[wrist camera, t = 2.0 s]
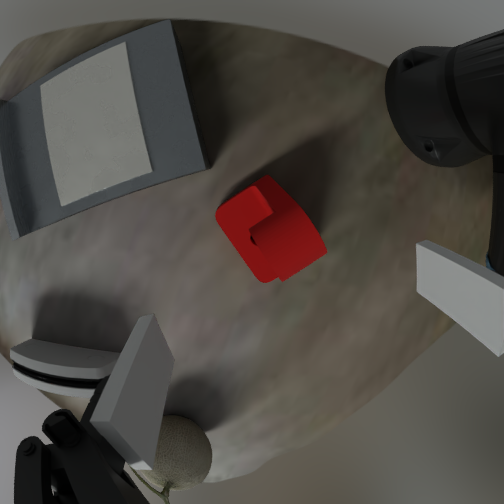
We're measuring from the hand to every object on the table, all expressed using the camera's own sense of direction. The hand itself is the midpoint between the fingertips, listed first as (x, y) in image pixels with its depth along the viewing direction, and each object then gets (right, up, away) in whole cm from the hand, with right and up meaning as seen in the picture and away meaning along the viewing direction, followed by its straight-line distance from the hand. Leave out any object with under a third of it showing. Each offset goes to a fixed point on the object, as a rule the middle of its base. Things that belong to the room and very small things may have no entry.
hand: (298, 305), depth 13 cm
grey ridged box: (-17, +14, +12) cm, 25 cm away
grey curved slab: (-26, -11, +19) cm, 34 cm away
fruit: (-14, -23, +23) cm, 36 cm away
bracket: (-1, +5, +16) cm, 17 cm away
